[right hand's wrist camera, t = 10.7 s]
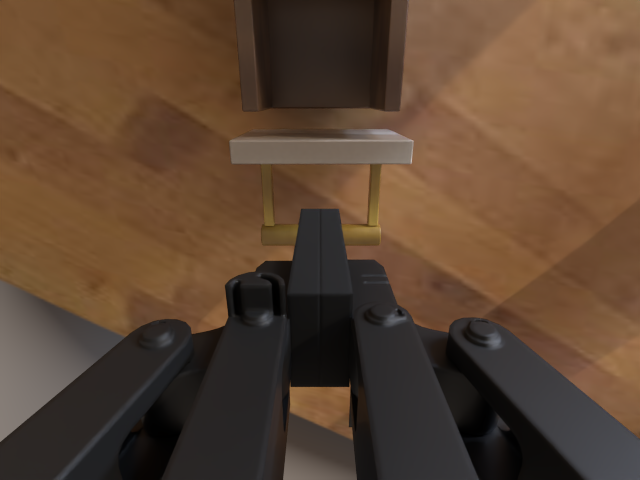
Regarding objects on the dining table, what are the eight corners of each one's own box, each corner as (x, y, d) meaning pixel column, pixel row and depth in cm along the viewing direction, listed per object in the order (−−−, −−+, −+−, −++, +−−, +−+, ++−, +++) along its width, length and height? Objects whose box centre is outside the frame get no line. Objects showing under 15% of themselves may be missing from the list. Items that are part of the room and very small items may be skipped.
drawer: (382, 225, 27) (401, 265, 20) (259, 225, 27) (240, 265, 20) (416, -263, 17) (473, -478, 11) (225, -263, 17) (169, -478, 11)
